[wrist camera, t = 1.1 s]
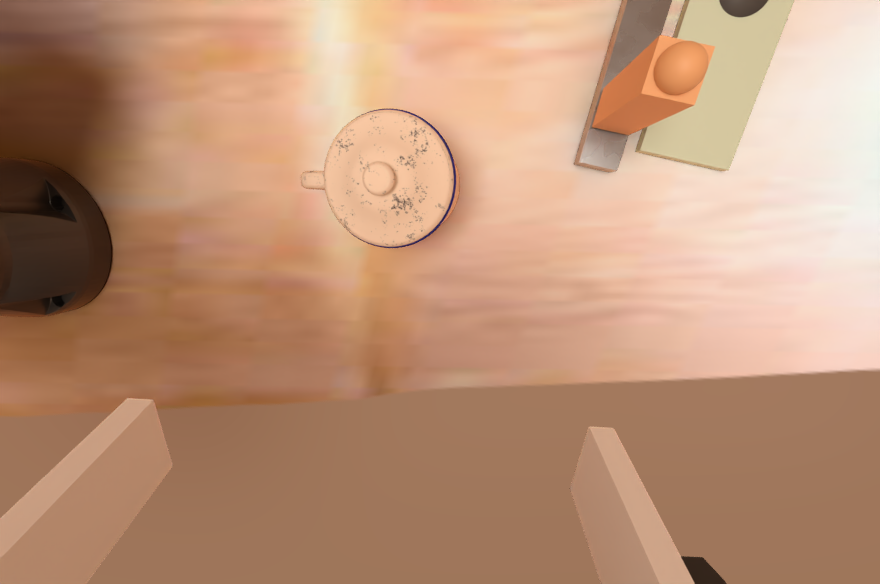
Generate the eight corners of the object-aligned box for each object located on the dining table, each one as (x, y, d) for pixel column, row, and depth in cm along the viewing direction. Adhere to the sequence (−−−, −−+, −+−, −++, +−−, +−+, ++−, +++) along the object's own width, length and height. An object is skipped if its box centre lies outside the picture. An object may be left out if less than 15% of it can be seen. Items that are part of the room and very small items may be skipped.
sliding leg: (591, 127, 31) (652, 85, 20) (603, 88, 30) (673, 22, 19) (628, 135, 31) (710, 98, 20) (640, 96, 30) (733, 34, 19)
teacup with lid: (464, 131, 34) (455, 96, 23) (460, 239, 36) (449, 257, 25) (327, 129, 35) (253, 95, 24) (330, 234, 37) (263, 248, 26)
